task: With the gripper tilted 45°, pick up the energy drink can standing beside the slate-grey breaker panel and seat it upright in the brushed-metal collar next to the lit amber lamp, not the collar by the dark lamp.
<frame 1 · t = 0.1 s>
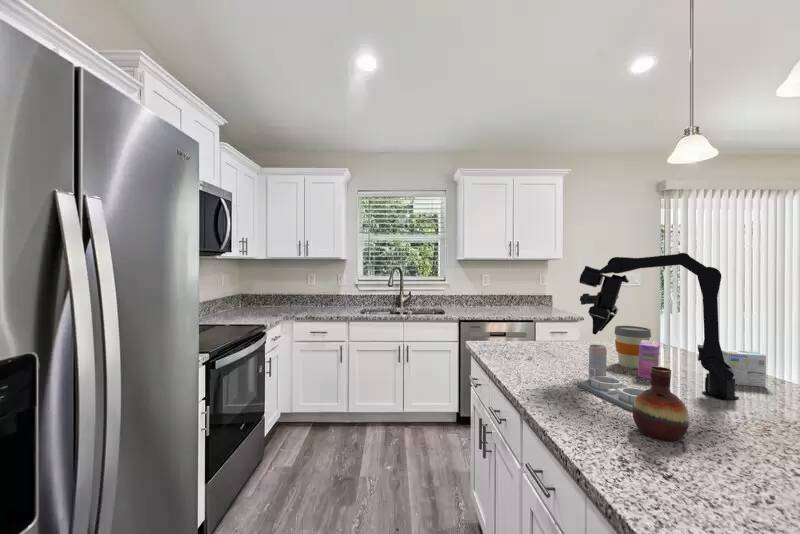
hand: (596, 332, 138), 15 cm above the counter, tool pointing down, fingers open, 9 cm apart
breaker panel: (620, 396, 116), on the counter
light bulb box: (741, 383, 131), on the counter
vase: (659, 434, 90), on the counter
box: (648, 375, 139), on the counter
energy drink: (597, 381, 131), on the counter
reusable coffee cup: (631, 365, 153), on the counter
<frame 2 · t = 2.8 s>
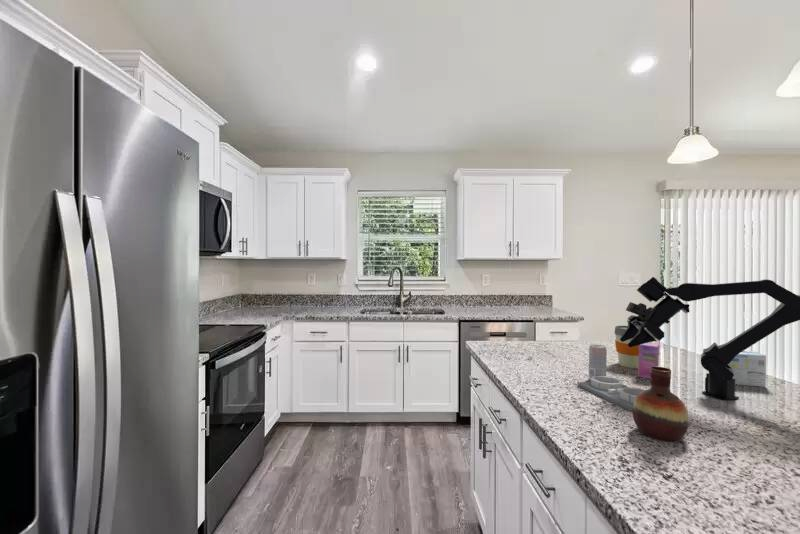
hand: (624, 343, 129), 14 cm above the counter, tool tilted 45°, fingers open, 9 cm apart
nothing on the counter moved.
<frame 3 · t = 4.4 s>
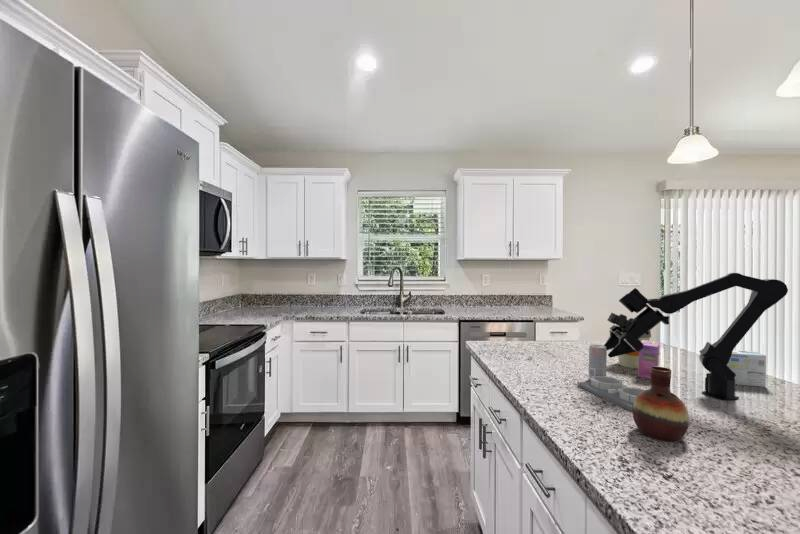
hand: (605, 353, 131), 10 cm above the counter, tool tilted 45°, fingers open, 9 cm apart
nothing on the counter moved.
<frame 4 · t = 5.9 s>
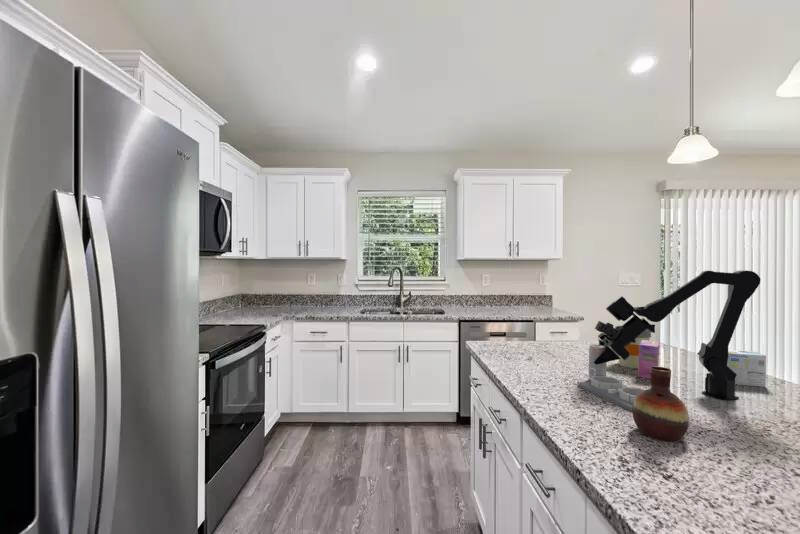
hand: (593, 361, 132), 7 cm above the counter, tool tilted 45°, fingers closed on energy drink, 5 cm apart
energy drink: (597, 381, 131), on the counter, touching gripper
everything else where it was.
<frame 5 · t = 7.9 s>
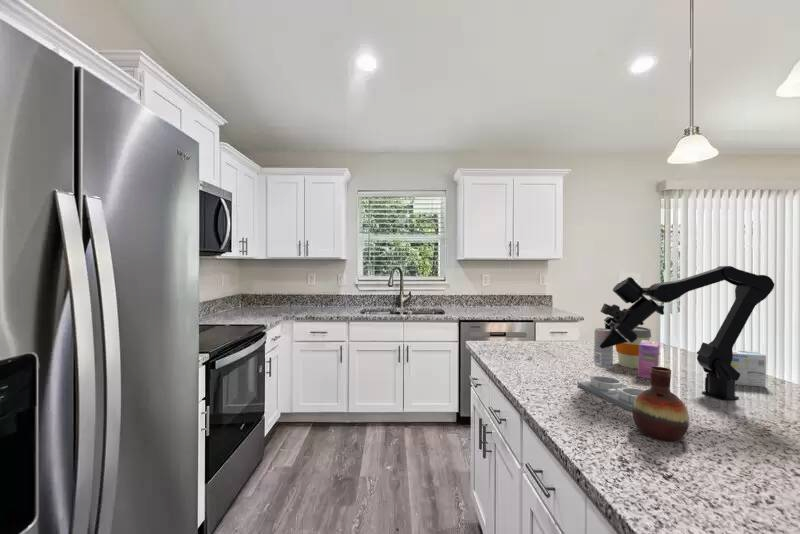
hand: (598, 345, 126), 13 cm above the counter, tool tilted 45°, fingers closed on energy drink, 5 cm apart
energy drink: (603, 366, 125), point 6 cm above the counter, touching gripper
everything else where it was.
when the fingers open (9 cm above the counter, at t = 10.0 s): energy drink drops 1 cm, resting on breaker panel.
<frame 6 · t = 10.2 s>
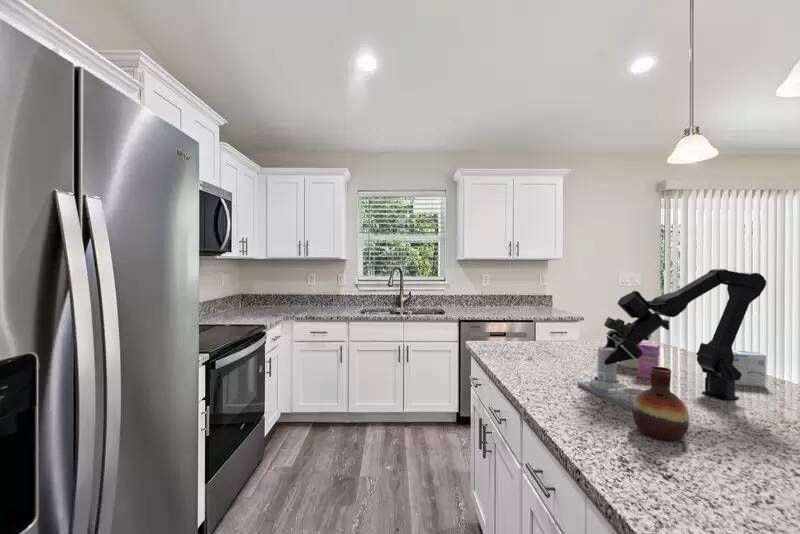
hand: (602, 360, 122), 9 cm above the counter, tool tilted 45°, fingers open, 8 cm apart
energy drink: (607, 386, 122), point 1 cm above the counter, touching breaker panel
everything else where it was.
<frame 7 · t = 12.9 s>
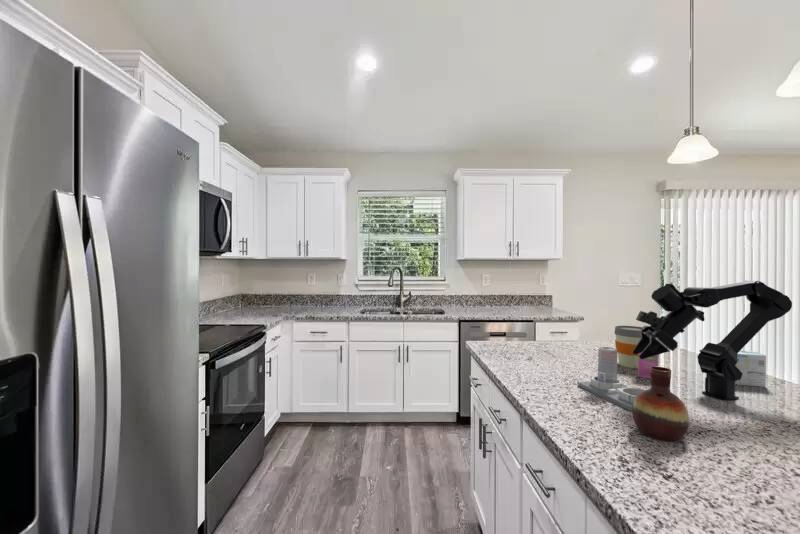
hand: (636, 355, 120), 12 cm above the counter, tool tilted 40°, fingers open, 9 cm apart
nothing on the counter moved.
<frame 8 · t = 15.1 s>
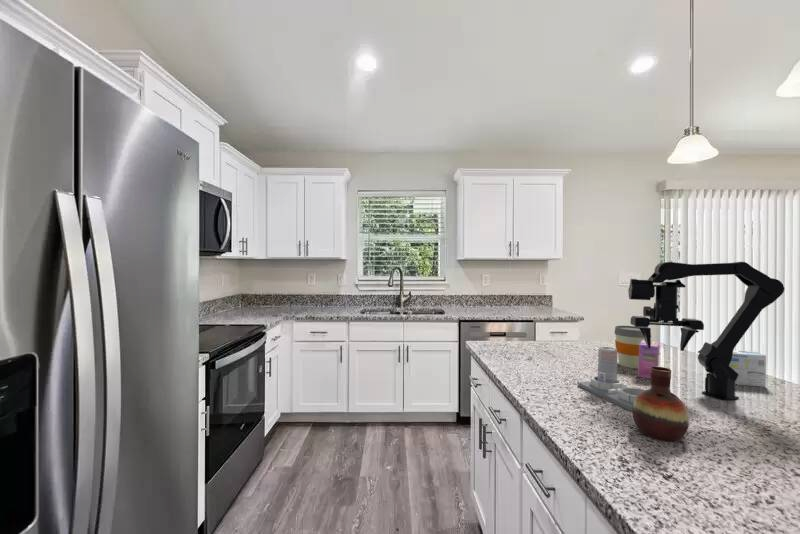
hand: (665, 349, 122), 13 cm above the counter, tool pointing down, fingers open, 9 cm apart
nothing on the counter moved.
at the end: energy drink 0.2 cm from the target spot on the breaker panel, point 1.0 cm above the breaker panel's base; energy drink tilted 0°; the gripper is holding nothing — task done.
